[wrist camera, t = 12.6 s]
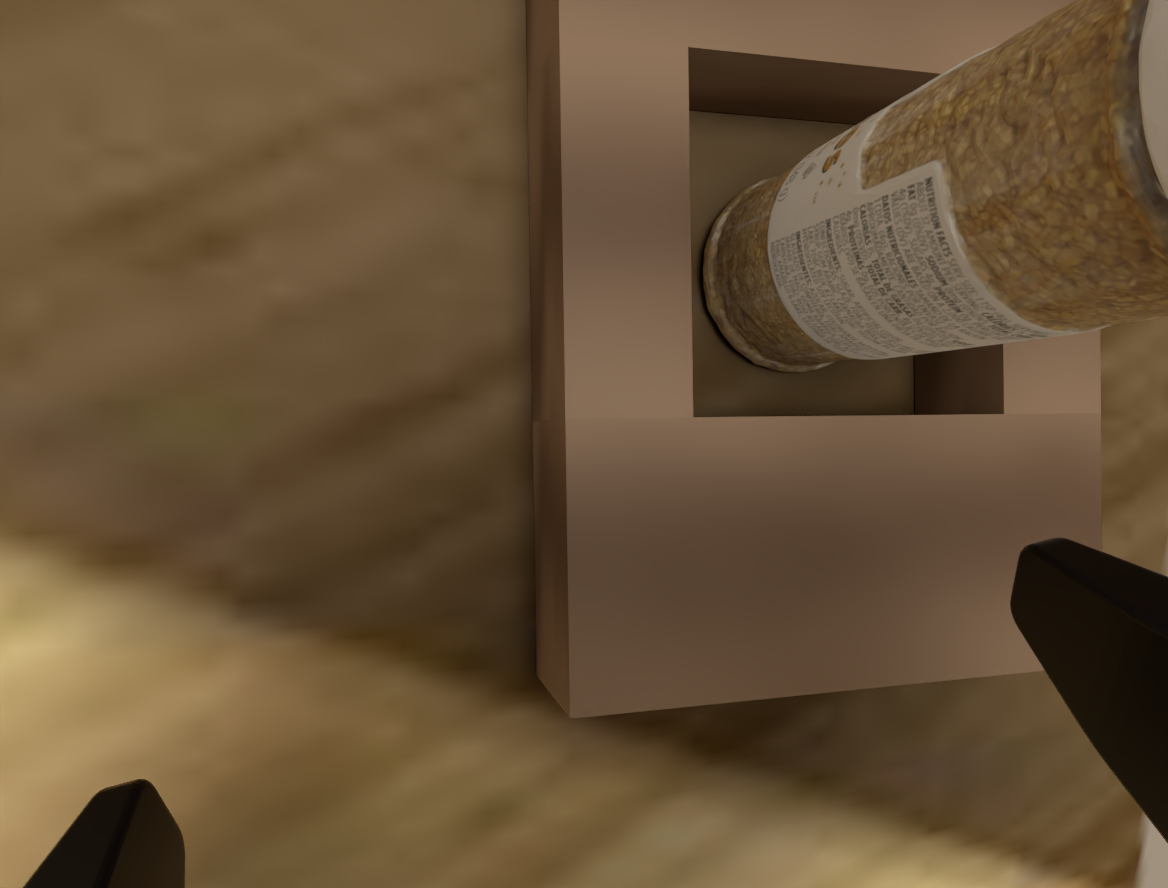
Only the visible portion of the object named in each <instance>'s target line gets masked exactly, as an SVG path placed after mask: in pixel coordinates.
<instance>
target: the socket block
mask: <svg viewBox="0 0 1168 888" xmlns="http://www.w3.org/2000/svg"><path fill="white" fill-rule="evenodd" d="M1073 1H1075V0H526V41H527V104H528V167H529V229H530V292H531V355H532V418H533V481H534V543H535V606H536V669H537V677H538V678H539V679H540V681H541V682H542V683H543V685H544V686H545V687H546V688H547V690H548V691H549V692H550V694H551V695H552V696H553V697H554V699H555V700H556V701H557V703H558V704H559V705H560V706H561V708H562V709H563V710H564V712H565V713H566V714H567V716H568V717H569V718H570V719H573V718H583V717H592V716H602V715H612V714H622V713H632V712H642V711H652V710H662V709H671V708H681V707H691V706H701V705H711V704H721V703H731V702H741V701H750V700H760V699H770V698H780V697H790V696H800V695H810V694H820V693H829V692H839V691H849V690H859V689H869V688H879V687H889V686H899V685H908V684H918V683H928V682H938V681H948V680H958V679H968V678H978V677H987V676H997V675H1007V674H1017V673H1027V672H1037V671H1045V670H1044V668H1043V667H1042V665H1041V664H1040V662H1039V660H1038V659H1037V657H1036V656H1035V654H1034V652H1033V651H1032V649H1031V648H1030V646H1029V645H1028V643H1027V641H1026V640H1025V638H1024V637H1023V635H1022V633H1021V632H1020V630H1019V629H1018V627H1017V625H1016V623H1015V621H1014V619H1013V616H1012V613H1011V607H1010V599H1011V594H1012V588H1013V583H1014V578H1015V573H1016V568H1017V563H1018V558H1019V555H1020V552H1021V551H1022V550H1023V548H1024V547H1025V546H1027V545H1029V544H1033V543H1036V542H1040V541H1044V540H1048V539H1052V538H1060V537H1061V538H1066V539H1070V540H1072V541H1075V542H1078V543H1080V544H1083V545H1086V546H1088V547H1091V548H1093V549H1096V550H1099V551H1101V552H1102V494H1101V380H1100V329H1098V330H1095V331H1090V332H1085V333H1080V334H1073V335H1065V336H1058V337H1050V338H1042V339H1035V340H1027V341H1019V342H1012V343H1004V344H996V345H988V346H981V347H973V348H965V349H957V350H950V351H942V352H933V353H925V354H917V355H915V415H865V416H769V417H693V359H692V287H691V215H690V143H689V110H698V111H709V112H721V113H733V114H744V115H756V116H767V117H779V118H791V119H802V120H814V121H825V122H837V123H849V124H859V123H860V122H862V121H864V120H865V119H867V118H868V117H870V116H872V115H874V114H875V113H877V112H879V111H881V110H882V109H884V108H886V107H887V106H889V105H891V104H892V103H894V102H895V101H897V100H899V99H900V98H902V97H904V96H905V95H907V94H909V93H910V92H912V91H914V90H915V89H917V88H919V87H921V86H922V85H924V84H926V83H927V82H929V81H931V80H932V79H934V78H936V77H937V76H939V75H941V74H942V73H944V72H946V71H947V70H949V69H951V68H952V67H954V66H956V65H957V64H959V63H961V62H963V61H965V60H966V59H968V58H970V57H972V56H974V55H976V54H979V53H981V52H983V51H985V50H987V49H990V48H992V47H995V46H997V45H1000V44H1001V43H1003V42H1005V41H1006V40H1008V39H1010V38H1011V37H1012V36H1014V35H1015V34H1017V33H1018V32H1020V31H1022V30H1025V29H1027V28H1028V27H1030V26H1032V25H1033V24H1035V23H1036V22H1037V21H1039V20H1041V19H1042V18H1044V17H1045V16H1047V15H1049V14H1051V13H1053V12H1055V11H1057V10H1059V9H1060V8H1062V7H1064V6H1066V5H1068V4H1069V3H1071V2H1073Z"/></svg>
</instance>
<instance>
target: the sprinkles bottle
mask: <svg viewBox="0 0 1168 888" xmlns="http://www.w3.org/2000/svg"><path fill="white" fill-rule="evenodd" d="M703 281H704V283H703V288H704V292H705V298H706V304H707V308H708V310H709V312H710V314H711V316H712V318H713V319H714V321H715V322H716V324H717V326H718V327H719V329H720V331H721V333H722V335H723V336H724V337H725V338H726V339H727V341H728V342H729V343H730V344H731V345H732V346H733V348H734V349H735V350H737V351H738V352H739V353H740V354H742V355H743V356H745V357H746V358H748V359H749V360H750V361H752V362H753V363H754V364H756V365H760V366H764V367H767V368H769V369H772V370H777V371H782V372H807V371H813V370H816V369H819V368H822V367H825V366H827V365H830V364H832V363H834V362H838V361H843V360H851V359H863V360H875V359H886V358H894V357H902V356H910V355H917V354H925V353H933V352H942V351H950V350H957V349H965V348H973V347H981V346H988V345H996V344H1004V343H1012V342H1019V341H1027V340H1035V339H1042V338H1050V337H1058V336H1065V335H1073V334H1080V333H1085V332H1090V331H1095V330H1098V329H1101V328H1105V327H1108V326H1111V325H1114V324H1120V323H1127V322H1135V321H1142V320H1149V319H1154V318H1158V317H1162V316H1168V0H1075V1H1073V2H1071V3H1069V4H1068V5H1066V6H1064V7H1062V8H1060V9H1059V10H1057V11H1055V12H1053V13H1051V14H1049V15H1047V16H1045V17H1044V18H1042V19H1041V20H1039V21H1037V22H1036V23H1035V24H1033V25H1032V26H1030V27H1028V28H1027V29H1025V30H1022V31H1020V32H1018V33H1017V34H1015V35H1014V36H1012V37H1011V38H1010V39H1008V40H1006V41H1005V42H1003V43H1001V44H1000V45H997V46H995V47H992V48H990V49H987V50H985V51H983V52H981V53H979V54H976V55H974V56H972V57H970V58H968V59H966V60H965V61H963V62H961V63H959V64H957V65H956V66H954V67H952V68H951V69H949V70H947V71H946V72H944V73H942V74H941V75H939V76H937V77H936V78H934V79H932V80H931V81H929V82H927V83H926V84H924V85H922V86H921V87H919V88H917V89H915V90H914V91H912V92H910V93H909V94H907V95H905V96H904V97H902V98H900V99H899V100H897V101H895V102H894V103H892V104H891V105H889V106H887V107H886V108H884V109H882V110H881V111H879V112H877V113H875V114H874V115H872V116H870V117H868V118H867V119H865V120H864V121H862V122H860V123H859V124H857V125H855V126H854V127H852V128H850V129H848V130H847V131H845V132H843V133H842V134H840V135H838V136H837V137H835V138H833V139H832V140H830V141H828V142H827V143H825V144H823V145H822V146H820V147H818V148H817V149H815V150H814V151H813V152H811V153H810V154H808V155H807V156H806V157H805V158H804V159H803V160H802V161H800V162H799V163H798V164H796V165H795V166H794V167H792V168H791V169H790V170H788V171H786V172H784V173H783V174H781V175H779V176H777V177H770V178H767V179H764V180H761V181H759V182H757V183H755V184H753V185H751V186H750V187H748V188H746V189H745V190H743V191H742V192H741V193H739V194H738V195H737V196H735V197H734V198H733V199H732V200H731V202H730V203H729V204H728V205H727V206H726V207H725V209H724V210H723V211H722V212H721V214H720V215H719V216H718V218H717V219H716V221H715V222H714V223H713V226H712V229H711V232H710V235H709V237H708V240H707V242H706V246H705V250H704V263H703Z"/></svg>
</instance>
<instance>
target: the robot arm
mask: <svg viewBox="0 0 1168 888" xmlns="http://www.w3.org/2000/svg"><path fill="white" fill-rule="evenodd" d="M1010 607H1011V613H1012V616H1013V619H1014V621H1015V623H1016V625H1017V627H1018V629H1019V630H1020V632H1021V633H1022V635H1023V637H1024V638H1025V640H1026V641H1027V643H1028V645H1029V646H1030V648H1031V649H1032V651H1033V652H1034V654H1035V656H1036V657H1037V659H1038V660H1039V662H1040V664H1041V665H1042V667H1043V668H1044V670H1045V672H1046V673H1047V675H1048V676H1049V678H1050V679H1051V681H1052V683H1053V684H1054V686H1055V687H1056V689H1057V691H1058V692H1059V694H1060V695H1061V697H1062V699H1063V700H1064V702H1065V703H1066V705H1067V707H1068V708H1069V710H1070V711H1071V713H1072V714H1073V716H1074V718H1075V719H1076V721H1077V722H1078V724H1079V726H1080V727H1081V729H1082V730H1083V732H1084V733H1085V735H1086V736H1087V738H1088V739H1089V740H1090V742H1091V743H1092V745H1093V746H1094V748H1095V749H1096V750H1097V752H1098V753H1099V755H1100V756H1101V757H1102V759H1103V760H1104V761H1105V763H1106V764H1107V765H1108V767H1109V768H1110V769H1111V771H1112V772H1113V773H1114V775H1115V776H1116V777H1117V778H1118V780H1119V781H1120V782H1121V784H1122V785H1123V786H1124V787H1125V789H1126V790H1127V791H1128V793H1129V794H1130V795H1131V796H1132V798H1133V799H1134V800H1135V802H1136V803H1137V804H1138V806H1139V807H1140V808H1141V809H1142V811H1143V812H1144V813H1145V815H1146V816H1147V817H1148V818H1149V820H1150V821H1151V822H1152V824H1153V825H1154V826H1155V827H1156V828H1157V830H1158V831H1159V833H1160V834H1161V835H1162V836H1163V838H1164V839H1165V840H1166V842H1167V843H1168V577H1167V576H1164V575H1161V574H1159V573H1156V572H1154V571H1151V570H1148V569H1146V568H1143V567H1141V566H1138V565H1135V564H1133V563H1130V562H1127V561H1125V560H1122V559H1120V558H1117V557H1114V556H1112V555H1109V554H1107V553H1104V552H1101V551H1099V550H1096V549H1093V548H1091V547H1088V546H1086V545H1083V544H1080V543H1078V542H1075V541H1072V540H1070V539H1066V538H1061V537H1060V538H1052V539H1048V540H1044V541H1040V542H1036V543H1033V544H1029V545H1027V546H1025V547H1024V548H1023V550H1022V551H1021V552H1020V555H1019V558H1018V563H1017V568H1016V573H1015V578H1014V583H1013V588H1012V594H1011V599H1010ZM23 888H185V847H184V841H183V836H182V833H181V831H180V829H179V827H178V825H177V823H176V822H175V820H174V818H173V817H172V815H171V813H170V812H169V810H168V808H167V807H166V805H165V803H164V802H163V800H162V798H161V797H160V795H159V794H158V792H157V790H156V789H155V787H154V786H153V785H152V783H151V782H149V781H147V780H145V779H138V780H134V781H130V782H126V783H123V784H119V785H115V786H111V787H108V788H105V789H102V790H101V791H99V792H98V793H97V794H96V795H94V796H93V798H92V799H91V800H90V801H89V802H88V804H87V805H86V806H85V808H84V809H83V810H82V811H81V813H80V814H79V815H78V817H77V818H76V819H75V820H74V822H73V823H72V824H71V826H70V827H69V828H68V830H67V831H66V832H65V833H64V835H63V836H62V837H61V839H60V840H59V841H58V842H57V844H56V845H55V846H54V848H53V849H52V850H51V852H50V853H49V854H48V855H47V857H46V858H45V859H44V861H43V862H42V863H41V864H40V866H39V867H38V868H37V870H36V871H35V872H34V874H33V875H32V876H31V877H30V879H29V880H28V881H27V883H26V884H25V885H24V886H23Z"/></svg>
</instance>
